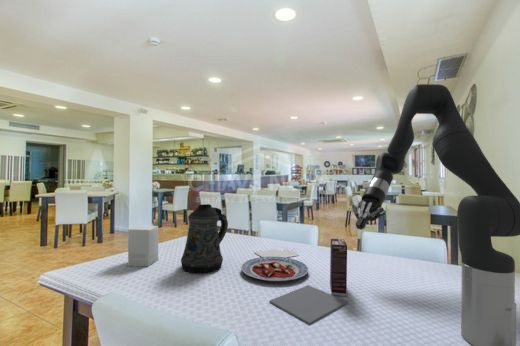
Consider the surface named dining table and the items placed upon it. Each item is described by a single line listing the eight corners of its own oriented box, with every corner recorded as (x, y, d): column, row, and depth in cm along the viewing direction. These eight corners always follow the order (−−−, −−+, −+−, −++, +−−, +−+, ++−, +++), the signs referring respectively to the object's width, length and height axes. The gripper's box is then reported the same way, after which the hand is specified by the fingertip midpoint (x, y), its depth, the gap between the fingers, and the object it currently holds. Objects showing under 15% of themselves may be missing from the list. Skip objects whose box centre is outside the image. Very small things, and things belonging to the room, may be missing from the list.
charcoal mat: (347, 303, 78) (347, 301, 78) (309, 324, 67) (309, 322, 67) (308, 286, 90) (308, 285, 90) (269, 302, 78) (269, 300, 78)
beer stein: (172, 271, 102) (172, 206, 102) (198, 256, 121) (198, 201, 121) (210, 276, 97) (211, 208, 97) (232, 260, 116) (232, 203, 116)
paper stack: (245, 248, 136) (245, 247, 136) (285, 242, 148) (285, 241, 148) (267, 261, 116) (267, 260, 116) (313, 254, 127) (313, 252, 127)
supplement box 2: (159, 259, 116) (159, 225, 116) (148, 267, 107) (148, 229, 107) (139, 259, 117) (139, 224, 117) (127, 266, 108) (127, 229, 108)
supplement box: (347, 296, 82) (347, 245, 82) (331, 295, 83) (331, 244, 83) (344, 285, 91) (344, 238, 91) (329, 284, 92) (330, 238, 92)
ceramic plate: (249, 290, 87) (249, 281, 87) (235, 264, 112) (235, 257, 112) (320, 282, 94) (320, 273, 94) (292, 259, 119) (292, 252, 119)
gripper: (356, 184, 106) (338, 218, 99) (390, 186, 96) (373, 224, 88) (363, 197, 110) (346, 231, 102) (396, 200, 100) (380, 237, 92)
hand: (358, 227), depth 95 cm, fingers closed
